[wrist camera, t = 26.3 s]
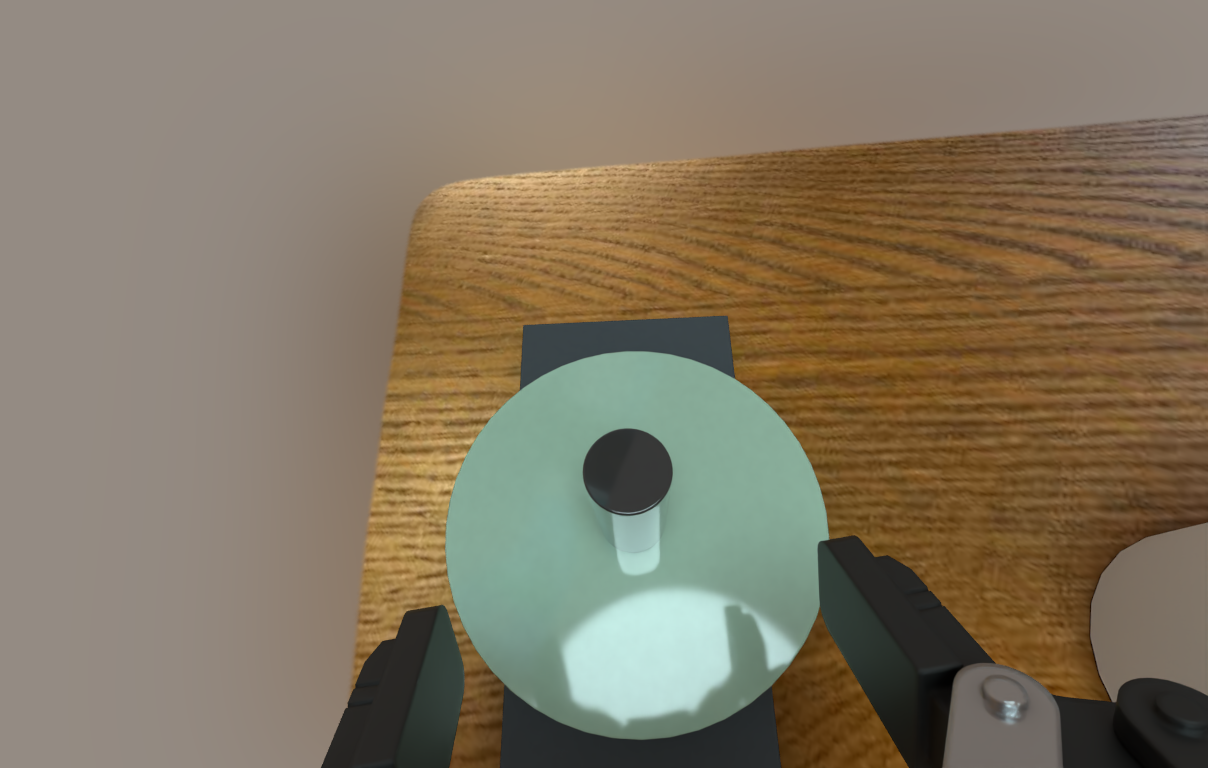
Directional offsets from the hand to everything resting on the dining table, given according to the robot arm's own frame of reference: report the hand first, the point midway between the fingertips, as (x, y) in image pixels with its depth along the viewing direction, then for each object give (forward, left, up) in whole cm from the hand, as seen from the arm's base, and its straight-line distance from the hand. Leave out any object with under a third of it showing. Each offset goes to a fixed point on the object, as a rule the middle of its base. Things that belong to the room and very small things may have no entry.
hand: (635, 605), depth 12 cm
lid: (+3, +2, -8) cm, 9 cm away
